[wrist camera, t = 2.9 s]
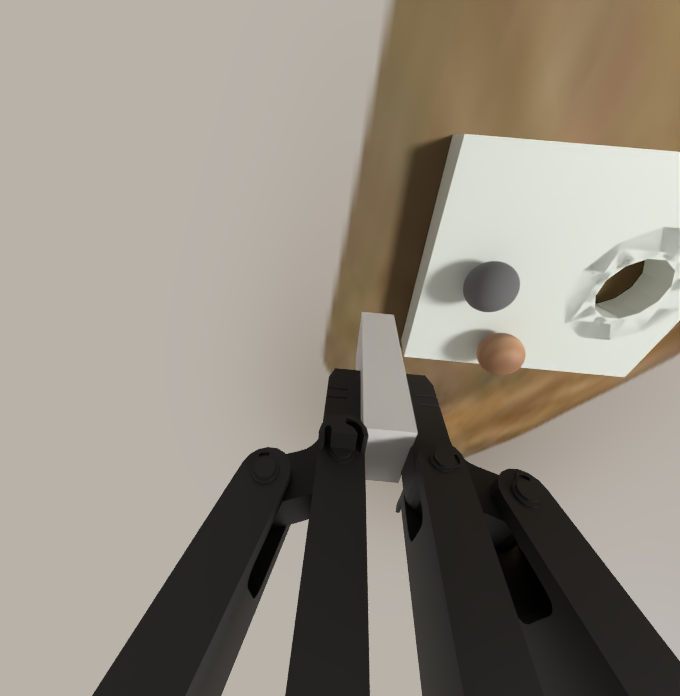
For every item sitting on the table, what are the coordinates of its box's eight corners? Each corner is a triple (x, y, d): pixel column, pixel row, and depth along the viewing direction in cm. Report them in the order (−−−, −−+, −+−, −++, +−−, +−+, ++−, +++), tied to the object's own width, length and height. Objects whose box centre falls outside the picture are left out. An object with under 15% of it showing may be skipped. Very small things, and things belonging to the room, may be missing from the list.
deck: (452, 134, 17) (464, 133, 15) (775, 161, 17) (830, 164, 15) (400, 340, 27) (404, 356, 25) (604, 359, 27) (624, 377, 25)
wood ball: (479, 322, 22) (495, 348, 19) (521, 326, 22) (543, 352, 19) (465, 355, 24) (478, 381, 22) (503, 358, 24) (521, 385, 22)
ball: (466, 251, 19) (483, 270, 16) (515, 256, 19) (541, 275, 16) (450, 296, 21) (464, 319, 18) (495, 300, 21) (514, 323, 18)
